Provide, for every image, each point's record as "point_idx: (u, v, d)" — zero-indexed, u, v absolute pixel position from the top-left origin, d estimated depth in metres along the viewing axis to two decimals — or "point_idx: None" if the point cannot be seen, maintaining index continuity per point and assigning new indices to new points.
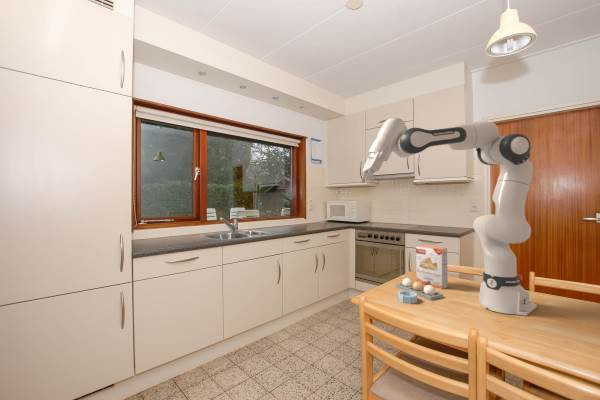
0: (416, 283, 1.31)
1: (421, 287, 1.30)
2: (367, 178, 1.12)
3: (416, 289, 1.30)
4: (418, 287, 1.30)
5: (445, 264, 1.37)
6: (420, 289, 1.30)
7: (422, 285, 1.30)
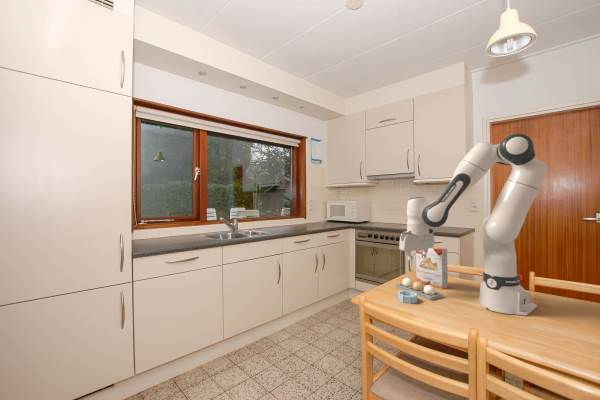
0: (416, 283, 1.31)
1: (421, 287, 1.30)
2: (408, 258, 1.30)
3: (416, 289, 1.30)
4: (418, 287, 1.30)
5: (445, 264, 1.37)
6: (420, 289, 1.30)
7: (422, 285, 1.30)
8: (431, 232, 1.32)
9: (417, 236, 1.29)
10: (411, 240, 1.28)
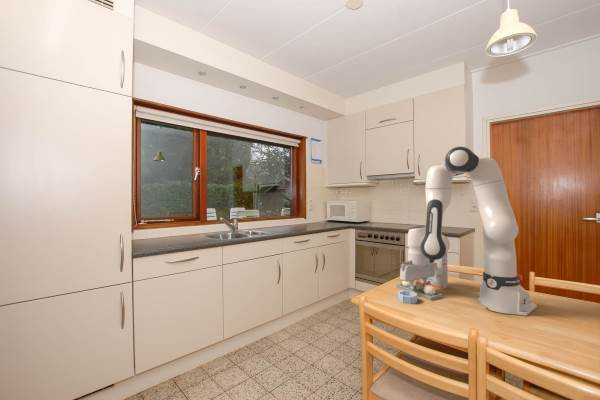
0: (416, 283, 1.31)
1: (421, 287, 1.30)
2: (411, 287, 1.30)
3: (416, 289, 1.30)
4: (418, 287, 1.30)
5: (445, 264, 1.37)
6: (420, 289, 1.30)
7: (422, 285, 1.30)
8: (432, 261, 1.32)
9: (418, 266, 1.29)
10: (412, 270, 1.28)
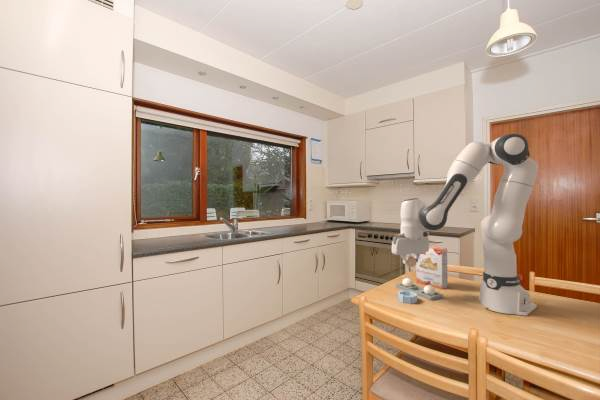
0: (408, 257, 1.26)
1: (413, 261, 1.24)
2: (404, 261, 1.25)
3: (408, 264, 1.25)
4: (411, 262, 1.24)
5: (445, 264, 1.37)
6: (412, 263, 1.24)
7: (415, 259, 1.25)
8: (426, 235, 1.26)
9: (410, 239, 1.23)
10: (404, 243, 1.23)
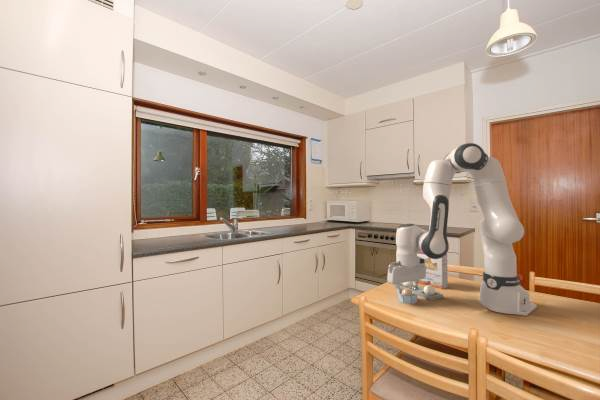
0: (405, 291, 1.21)
1: (410, 295, 1.19)
2: (397, 290, 1.19)
3: None
4: (407, 295, 1.19)
5: (445, 264, 1.37)
6: None
7: (411, 293, 1.20)
8: (422, 262, 1.21)
9: (407, 267, 1.19)
10: (400, 272, 1.18)
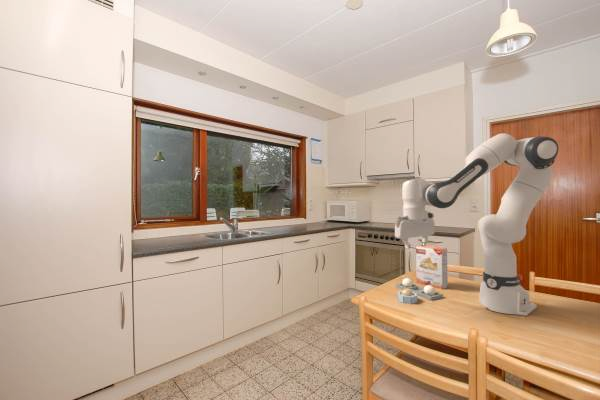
0: (405, 290, 1.21)
1: (410, 295, 1.19)
2: (406, 246, 1.15)
3: None
4: (408, 295, 1.19)
5: (445, 264, 1.37)
6: None
7: (412, 293, 1.20)
8: (431, 217, 1.17)
9: (415, 221, 1.14)
10: (408, 226, 1.14)
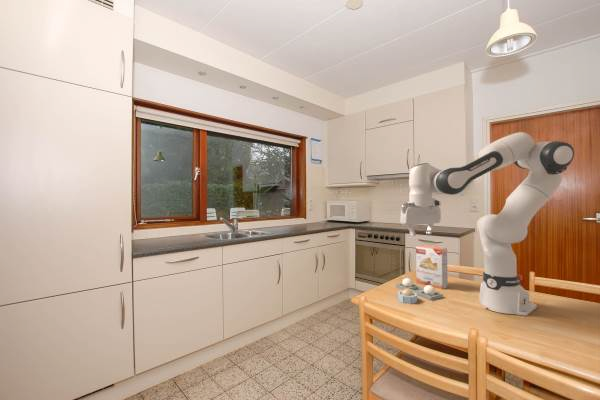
0: (406, 290, 1.21)
1: (411, 295, 1.19)
2: (411, 233, 1.12)
3: None
4: (408, 295, 1.19)
5: (445, 264, 1.37)
6: None
7: (412, 293, 1.20)
8: (437, 204, 1.14)
9: (421, 208, 1.11)
10: (414, 213, 1.11)
